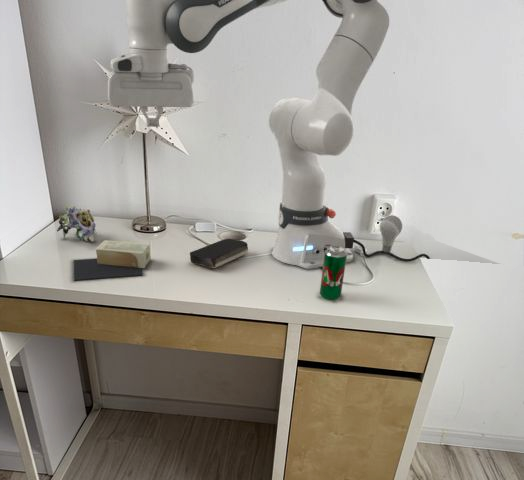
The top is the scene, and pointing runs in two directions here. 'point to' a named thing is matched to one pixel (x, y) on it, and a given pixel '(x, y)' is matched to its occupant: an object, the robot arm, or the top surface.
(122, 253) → the cosmetic box
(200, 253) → the black sponge
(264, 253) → the top surface
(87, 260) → the mat
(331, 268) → the soda can
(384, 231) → the lightbulb
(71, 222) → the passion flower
